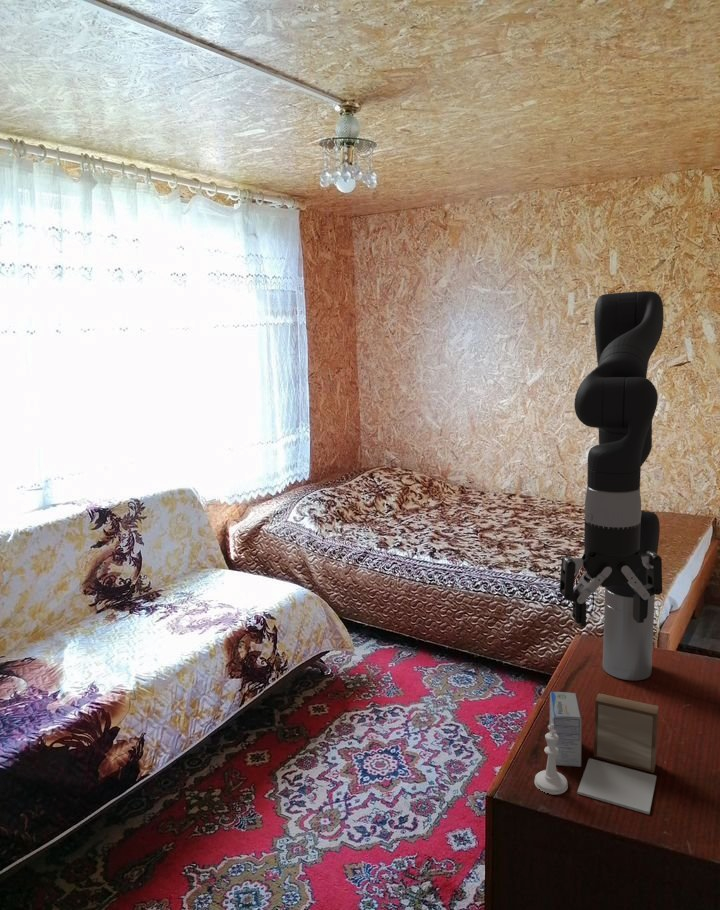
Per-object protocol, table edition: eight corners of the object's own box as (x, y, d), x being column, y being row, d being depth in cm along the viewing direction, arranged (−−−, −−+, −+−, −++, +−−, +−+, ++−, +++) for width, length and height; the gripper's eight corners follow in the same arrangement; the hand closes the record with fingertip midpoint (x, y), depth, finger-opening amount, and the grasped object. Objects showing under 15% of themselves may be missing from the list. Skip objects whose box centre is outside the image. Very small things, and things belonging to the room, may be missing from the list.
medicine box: (581, 768, 107) (582, 718, 106) (552, 765, 108) (553, 716, 107) (575, 739, 115) (577, 692, 113) (548, 737, 116) (549, 690, 114)
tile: (596, 748, 112) (598, 693, 110) (655, 764, 108) (658, 706, 106) (593, 757, 110) (595, 700, 108) (653, 773, 105) (656, 714, 104)
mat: (589, 760, 109) (589, 758, 109) (656, 778, 104) (656, 775, 104) (577, 793, 101) (577, 791, 101) (649, 814, 96) (649, 812, 96)
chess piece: (545, 797, 101) (546, 736, 99) (528, 777, 105) (529, 718, 104) (574, 790, 102) (576, 730, 100) (556, 771, 107) (557, 712, 105)
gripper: (649, 507, 101) (645, 609, 104) (554, 512, 100) (553, 614, 103) (674, 522, 93) (669, 631, 96) (572, 528, 93) (570, 637, 96)
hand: (609, 622), depth 100 cm, fingers open, 8 cm apart
